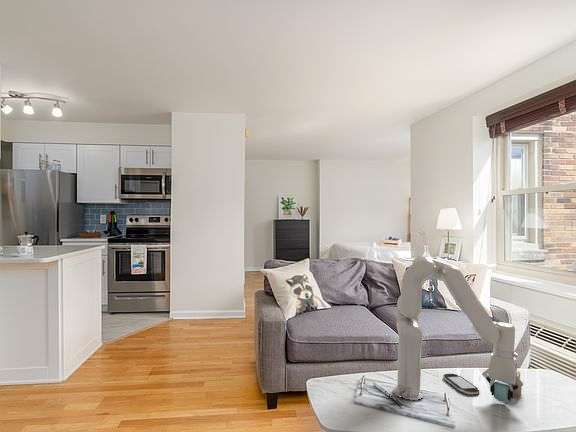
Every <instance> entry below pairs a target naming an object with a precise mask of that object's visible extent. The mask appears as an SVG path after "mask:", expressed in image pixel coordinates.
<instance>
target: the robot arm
mask: <svg viewBox="0 0 576 432" xmlns="http://www.w3.org/2000/svg"><path fill="white" fill-rule="evenodd" d="M401 278H402V279H401V288H400V289H401V290H400V296H398V299H397V303H396V330H397V333H398V344H397V345H398V346H397V378H396V379H397V381H396V383H397V384H396V386H394V387H393V394H394V393H395V394H394V395H395V396H396V397H398V396H401V397H403V398H406V399H410V400H409V401H413V400H415V401H419V400H418V399H421V398H423V399H424V397H425V393H424V391H423V390H422V389H421V370H422V366H421V365H422V345H423V330H422V329H421V327H420V325H419V317H420V315H421V312H422V309H423V307H422V306H423V305H422V291H423V284H424V282H425V280H426V279H428V278H431V279H434V280H438V281H441V282H442V283H443V284H444V285H445V287H446V289H447V290H448V292H449V293H450V296H451V297H452V299H453V300H454V302H455V303H456V305H457V306H458V308H459V310H461V311H462V313H464V315H466V317H467V318H468V320H469V321H470V323H471V324H472V326H471V327H472V330H473V332H474V333H475V335H476V336H477V337H478V338H479V339H480V340H481V341H482V342H484V343H486V344H488V345H490V344H491V345H492V344H493V348H492V349H493V350H492V352H491V354H490V357H489V363H488V368H487V369H485V370H484V371H483V372H482V373H481V374H482V376H483V377H484V378H485V380H486V381H487V382H488V383H489V387H490V388H489V389H490V390H489V392H490V393H491V396H494V382H495V381H501V382H505V383H508V385H509V388H510V389H509V391H508V400H509V401H508V402H511V399H514V398H513V391H514V390H516V389H517V388H519V387H521V386H522V387H523V386H524V382H523V381H522V380H521V378H520V379H519V377H518V376H517V371H518V365H517V362H518V361H517V359H516V358H519V353H516V351H515V340H516V337H515V336H516V328H515V326H514V325H513V324H511V323H509V322H508V323H507V322H501V321H499V322H496V321H493V319H492V317H491V315H490V314H489V312H488V311H487V309H485V307H484V306H483V304H482V302H481V301H480V299H479V298H478V296H477V295H476V293H475V291H474V290H473V288H472V287H471V285H470V284H469V282H468V280H467V279H466V276H465V275H464V274H463V272H462V271H461V269H460V268H459V267H457V266H455V265H453V264H450V263H447V262H443V261H441V260H437V259H434V258H431V257H428V256H424V255H420V256H417V257H415V258H414V260H413V261H412V264H411V265H410V266H408V267H407V268H406V270H405V271H404V273H403V275H402V277H401ZM516 381H517V382H518V384H516V385H513V384H515V382H516ZM406 399H405V400H406ZM421 400H422V399H421Z"/></svg>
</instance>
